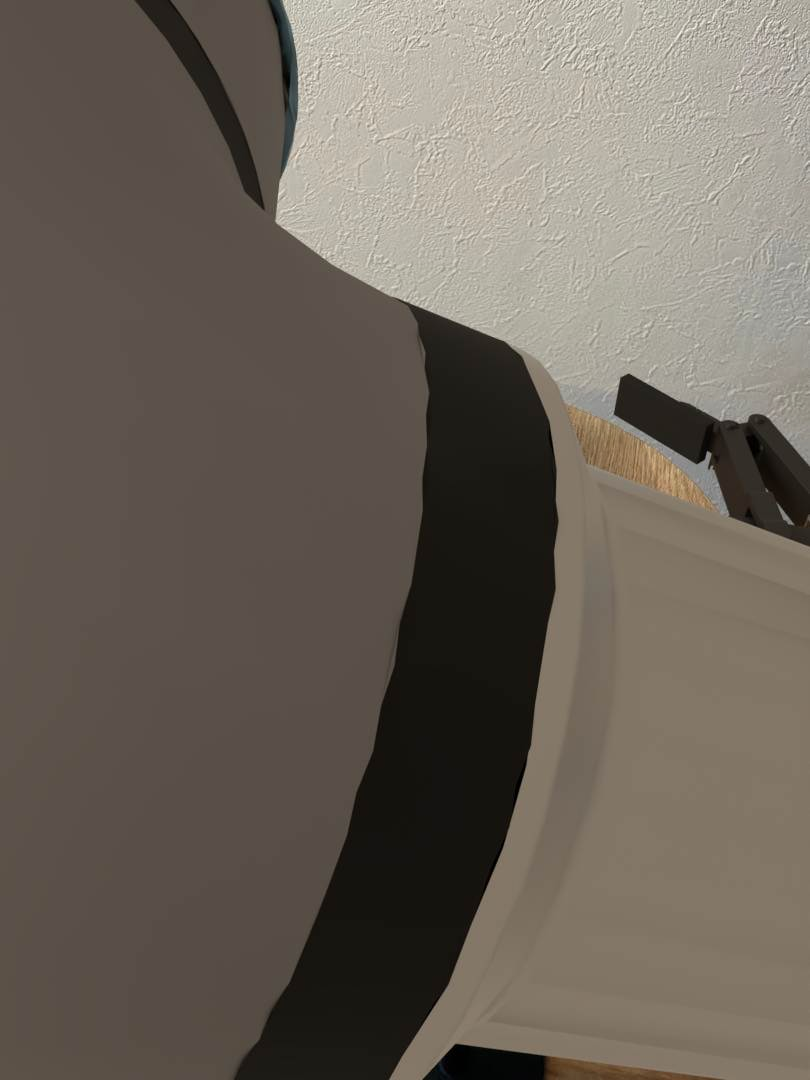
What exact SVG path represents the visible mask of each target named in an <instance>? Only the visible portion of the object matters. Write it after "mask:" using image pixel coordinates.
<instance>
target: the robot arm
mask: <svg viewBox="0 0 810 1080" xmlns="http://www.w3.org/2000/svg"><path fill="white" fill-rule="evenodd" d="M297 55H298V54H297V50H296V43H295V38H294V34H293V28H292V24H291V22H290V19H289V16H288V13H287V11H286V8H285V5H284V1H283V0H0V1080H423V1079H424V1078H425V1077H426V1076H427V1075H428V1074H429V1073H430V1072H431V1071H432V1069H434V1068H435V1066H436V1065H438V1063H439V1062H440V1061H441V1060H442V1059H443V1058H444V1057H445V1056H446V1054H447V1053H448V1052H449V1051H450V1050H451V1049H452V1048H453V1047H454V1046H455V1045H464V1046H470V1047H479V1048H484V1049H485V1048H486V1049H493V1050H502V1051H506V1052H507V1051H508V1052H516V1053H522V1054H523V1053H524V1054H531V1055H538V1056H546V1057H552V1058H553V1057H554V1058H561V1059H567V1060H569V1059H570V1060H575V1061H582V1062H590V1063H598V1064H599V1063H600V1064H606V1065H613V1066H620V1067H627V1068H635V1069H644V1070H650V1071H657V1072H666V1073H672V1074H681V1075H688V1076H696V1077H703V1078H710V1079H718V1080H810V465H809V464H808V462H807V461H806V460H805V459H804V457H803V456H802V455H801V454H800V453H799V452H798V451H797V449H796V448H795V447H794V446H793V444H791V443H790V441H789V440H788V439H787V438H786V437H785V436H784V435H783V432H781V430H780V429H779V428H778V427H777V426H776V425H775V423H773V421H772V420H771V419H770V418H769V417H768V416H766V415H764V414H761V413H753V414H750V415H749V416H748V419H747V421H746V422H745V421H744V422H741V423H739V422H738V421H735V420H732V419H724V420H722V421H721V420H719V419H718V418H716V417H714V416H713V415H711V414H709V413H707V412H706V411H703V410H701V409H700V408H698V407H696V406H694V405H693V404H692V403H691V404H690V403H688V402H685V401H682V400H677V399H676V398H674V397H671V396H670V395H668V394H667V393H665V392H663V391H661V390H659V389H658V388H656V387H654V386H653V385H650V384H649V383H647V382H645V381H644V380H641V379H640V378H638V377H636V376H635V375H633V374H631V373H629V372H628V373H627V374H624V375H622V376H620V377H619V383H618V388H617V394H616V400H615V403H614V404H615V405H614V409H613V416H615V417H617V418H618V419H620V420H622V421H624V422H625V423H627V424H628V425H630V426H632V427H633V428H634V429H637V430H639V431H640V432H641V433H644V434H645V435H647V436H648V437H650V438H651V439H653V440H655V441H657V442H658V443H660V444H662V445H663V446H665V447H667V448H668V449H670V450H672V451H673V452H675V453H677V454H678V455H680V456H681V457H683V458H685V459H687V460H688V461H690V462H692V463H693V464H695V465H699V464H701V463H703V462H704V461H706V459H707V453H709V454H710V456H709V457H710V458H709V461H708V465H707V470H708V471H709V470H711V467H712V471H714V474H715V477H716V481H717V483H718V485H719V489H720V492H721V494H722V498H723V501H724V504H725V506H726V509H727V512H728V515H725V514H722V513H720V512H718V511H715V510H713V509H709V508H707V507H704V506H702V505H699V504H696V503H693V502H691V501H688V500H685V499H682V498H680V497H678V496H675V495H672V494H670V493H667V492H664V491H661V490H659V489H656V488H653V487H651V486H648V485H645V484H643V483H640V482H638V481H634V480H633V479H632V480H631V479H629V478H627V477H624V476H621V475H618V474H616V473H613V472H611V471H608V470H605V469H603V468H600V467H597V466H595V465H592V464H589V463H587V462H586V461H587V460H586V458H585V455H584V453H583V450H582V447H581V444H580V441H579V438H578V436H577V433H576V429H575V426H574V424H573V421H572V418H571V415H570V412H569V410H568V408H567V405H566V403H565V401H564V398H563V396H562V393H561V390H560V389H559V386H558V383H557V382H556V381H555V379H554V378H553V377H552V375H551V374H550V373H549V372H548V370H547V368H545V366H544V365H543V363H542V362H541V361H540V360H539V359H538V358H536V357H535V356H534V355H531V354H530V353H528V352H527V351H525V350H524V349H523V348H520V347H518V346H516V345H513V344H511V343H509V342H506V341H505V340H502V339H499V338H497V337H494V336H492V335H489V334H487V333H485V332H482V331H480V330H476V329H475V328H472V327H469V326H467V325H465V324H462V323H459V322H457V321H454V320H452V319H450V318H447V317H445V316H442V315H439V314H437V313H435V312H432V311H430V310H428V309H425V308H423V307H420V306H417V305H415V304H413V303H411V302H407V301H405V300H404V299H401V298H398V297H395V296H392V295H389V294H387V293H386V292H383V291H381V290H380V289H378V288H376V287H374V286H372V285H370V284H369V283H367V282H365V281H364V280H361V279H360V278H358V277H355V276H354V275H352V274H350V273H348V272H346V270H343V269H341V268H339V267H337V266H335V264H332V262H330V261H328V260H327V259H325V258H324V257H323V256H321V255H320V254H319V253H317V252H316V251H315V250H313V249H312V248H311V247H309V246H308V245H306V244H305V243H304V242H302V240H300V239H298V238H297V237H296V236H295V235H293V234H292V233H290V232H289V231H288V230H286V229H285V228H284V227H282V226H281V225H280V224H278V222H277V221H276V220H277V210H278V202H279V201H278V200H279V192H280V182H281V179H282V177H283V175H284V172H285V170H286V168H287V166H288V162H289V159H290V156H291V153H292V151H293V145H294V142H295V141H294V139H295V137H294V136H295V134H296V133H295V132H296V126H297V121H298V115H299V114H298V113H299V66H298V56H297ZM779 507H780V508H779ZM781 510H782V511H783V512H784V515H786V516H787V518H788V519H789V520H790V521H791V523H792V524H791V523H789V522H788V521H787V520H785V519H784V517H783V515H782V513H781Z"/></svg>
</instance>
